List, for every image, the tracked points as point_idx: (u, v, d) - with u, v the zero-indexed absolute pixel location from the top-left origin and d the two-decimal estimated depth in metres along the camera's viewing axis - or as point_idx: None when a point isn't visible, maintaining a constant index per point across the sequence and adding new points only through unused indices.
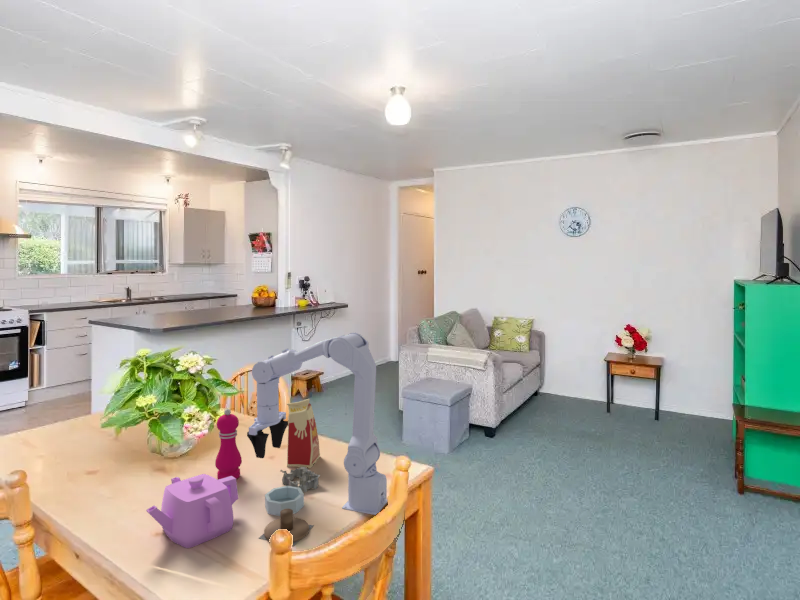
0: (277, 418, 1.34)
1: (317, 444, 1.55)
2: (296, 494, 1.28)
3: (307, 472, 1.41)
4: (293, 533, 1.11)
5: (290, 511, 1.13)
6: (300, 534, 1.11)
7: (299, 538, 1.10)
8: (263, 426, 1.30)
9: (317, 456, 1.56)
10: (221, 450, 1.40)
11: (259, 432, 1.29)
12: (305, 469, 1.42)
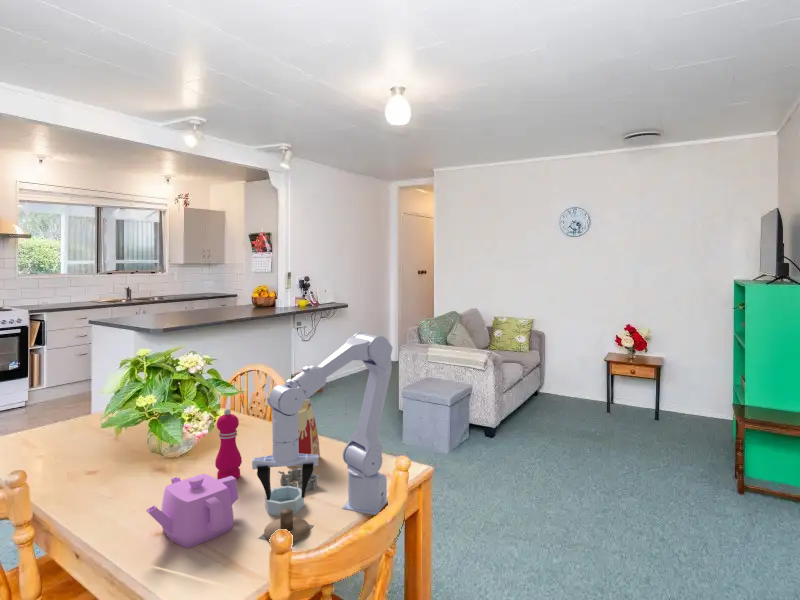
0: (286, 460, 1.09)
1: (317, 444, 1.55)
2: (296, 494, 1.28)
3: None
4: (293, 533, 1.11)
5: (290, 511, 1.13)
6: (300, 534, 1.11)
7: (299, 538, 1.10)
8: (264, 463, 1.10)
9: None
10: (221, 450, 1.40)
11: (261, 468, 1.11)
12: None
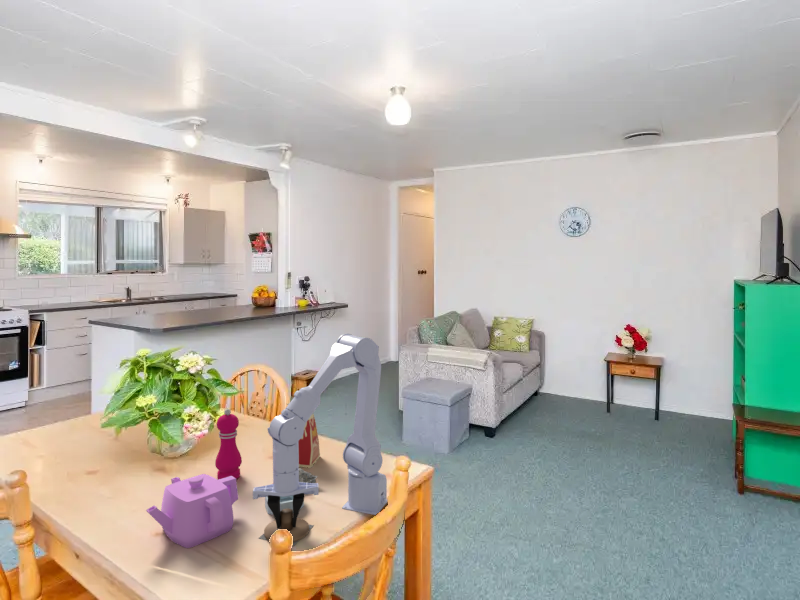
0: (286, 490, 1.10)
1: (317, 444, 1.55)
2: None
3: (303, 473, 1.40)
4: (293, 533, 1.11)
5: (290, 511, 1.13)
6: (300, 534, 1.11)
7: (299, 538, 1.10)
8: (265, 493, 1.10)
9: (317, 456, 1.56)
10: (221, 450, 1.40)
11: None
12: (301, 470, 1.41)
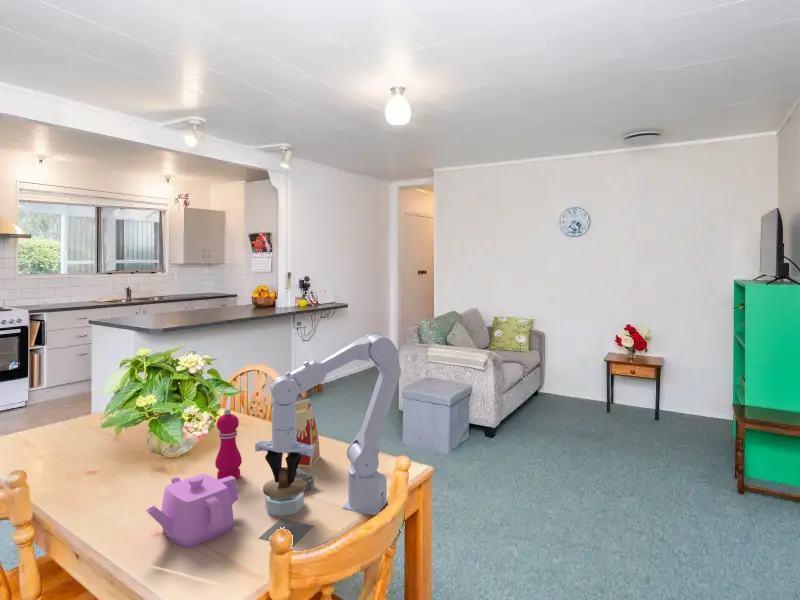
0: (280, 446, 1.17)
1: (317, 444, 1.55)
2: None
3: (302, 474, 1.39)
4: (287, 490, 1.17)
5: (287, 469, 1.20)
6: (292, 491, 1.17)
7: (290, 495, 1.16)
8: (264, 446, 1.19)
9: (317, 456, 1.56)
10: (221, 450, 1.40)
11: None
12: (299, 471, 1.41)
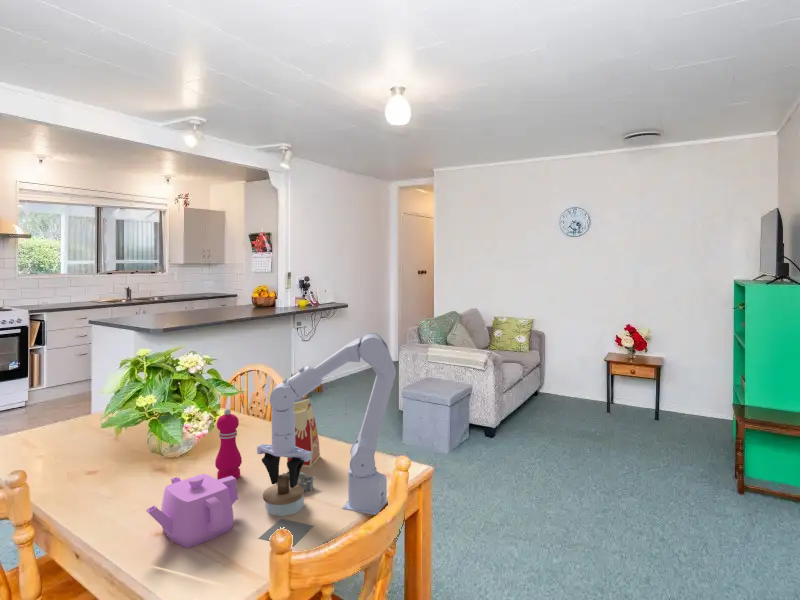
0: (278, 451, 1.21)
1: (317, 444, 1.55)
2: None
3: (300, 474, 1.39)
4: (285, 497, 1.22)
5: (286, 477, 1.24)
6: (289, 499, 1.21)
7: (287, 502, 1.20)
8: (264, 450, 1.24)
9: (317, 456, 1.56)
10: (221, 450, 1.40)
11: None
12: None
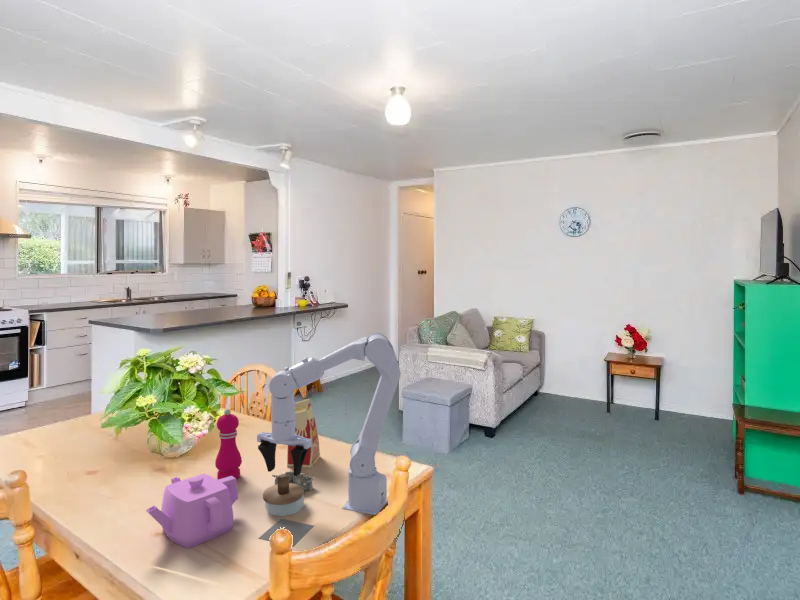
0: (278, 438, 1.21)
1: (317, 444, 1.55)
2: None
3: (299, 475, 1.39)
4: (285, 497, 1.22)
5: (286, 477, 1.24)
6: (289, 499, 1.21)
7: (287, 502, 1.20)
8: (264, 438, 1.24)
9: (317, 456, 1.56)
10: (221, 450, 1.40)
11: (264, 442, 1.25)
12: None
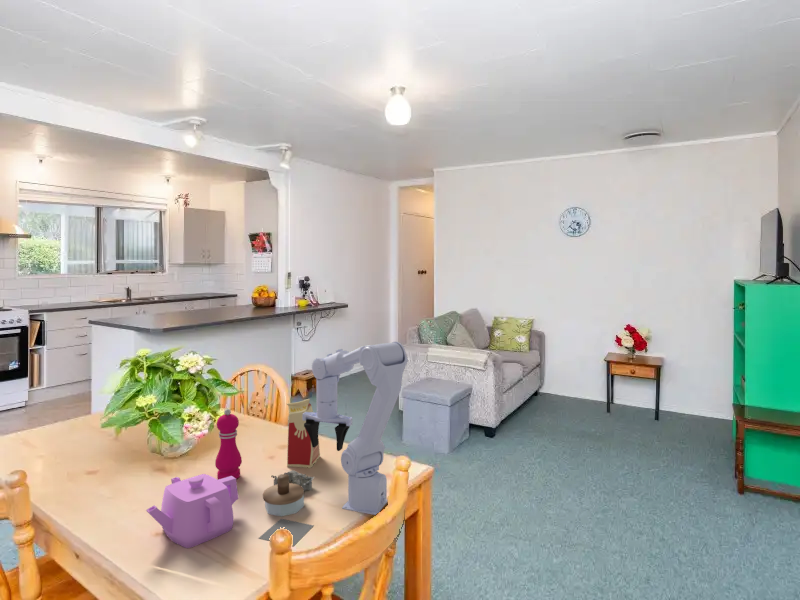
0: (323, 416, 1.34)
1: None
2: None
3: (298, 475, 1.39)
4: (285, 497, 1.22)
5: (286, 477, 1.24)
6: (289, 499, 1.21)
7: (287, 502, 1.20)
8: (310, 416, 1.37)
9: (317, 456, 1.56)
10: (221, 450, 1.40)
11: (309, 420, 1.38)
12: (295, 472, 1.40)
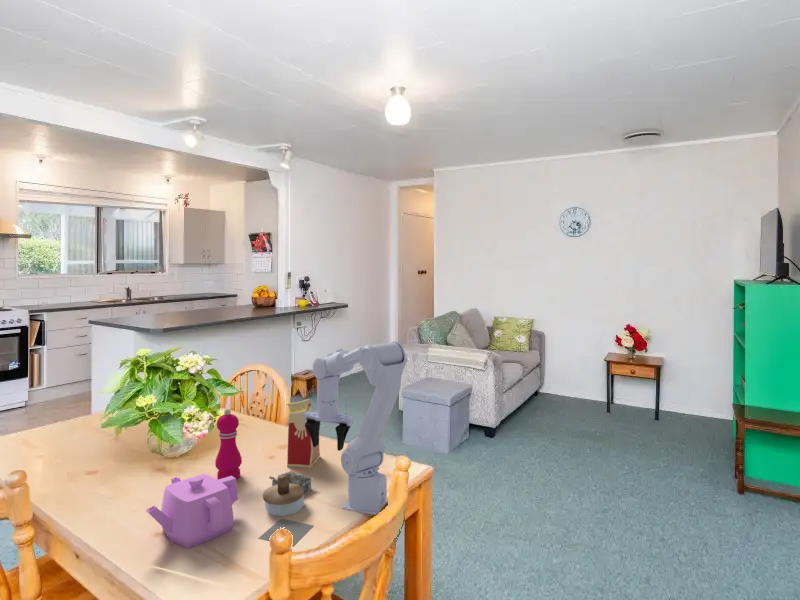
0: (323, 416, 1.35)
1: None
2: None
3: (296, 476, 1.38)
4: (285, 497, 1.22)
5: (286, 477, 1.24)
6: (289, 499, 1.21)
7: (287, 502, 1.20)
8: (310, 416, 1.37)
9: (317, 456, 1.56)
10: (221, 450, 1.40)
11: (310, 420, 1.38)
12: (293, 473, 1.39)
